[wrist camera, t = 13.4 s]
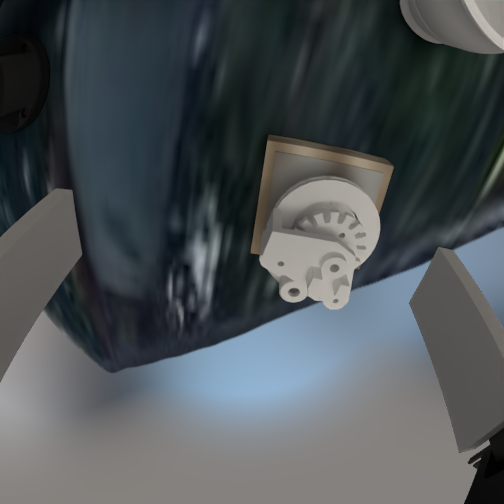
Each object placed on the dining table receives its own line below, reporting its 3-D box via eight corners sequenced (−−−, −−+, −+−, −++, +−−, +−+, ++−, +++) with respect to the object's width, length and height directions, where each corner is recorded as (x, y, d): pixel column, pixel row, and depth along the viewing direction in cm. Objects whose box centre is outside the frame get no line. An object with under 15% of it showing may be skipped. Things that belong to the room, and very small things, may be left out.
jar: (450, 68, 26) (533, 83, 13) (377, 20, 24) (440, -3, 12) (475, 7, 20) (555, 0, 7) (405, -43, 19) (469, -83, 6)
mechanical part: (386, 204, 33) (424, 266, 23) (316, 271, 39) (325, 343, 29) (313, 139, 30) (331, 179, 20) (243, 220, 36) (229, 287, 26)
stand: (252, 240, 41) (250, 254, 38) (268, 134, 33) (267, 141, 30) (354, 256, 41) (359, 270, 38) (385, 158, 33) (394, 167, 30)
